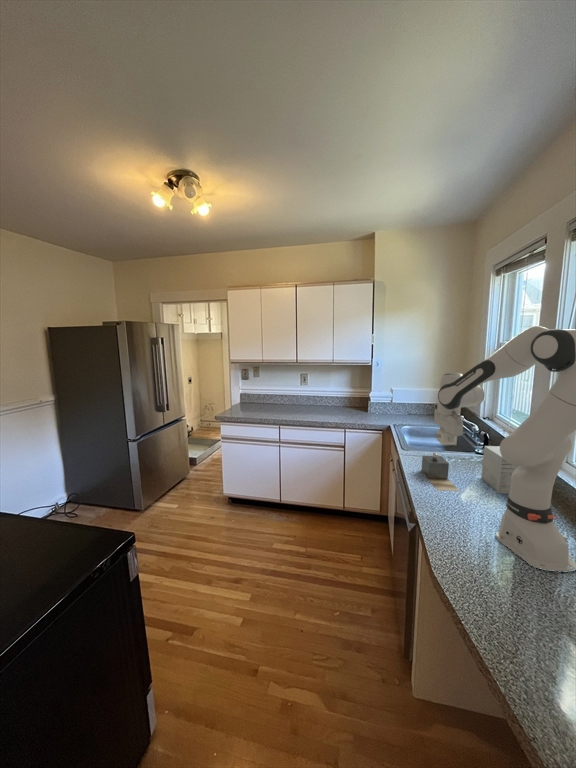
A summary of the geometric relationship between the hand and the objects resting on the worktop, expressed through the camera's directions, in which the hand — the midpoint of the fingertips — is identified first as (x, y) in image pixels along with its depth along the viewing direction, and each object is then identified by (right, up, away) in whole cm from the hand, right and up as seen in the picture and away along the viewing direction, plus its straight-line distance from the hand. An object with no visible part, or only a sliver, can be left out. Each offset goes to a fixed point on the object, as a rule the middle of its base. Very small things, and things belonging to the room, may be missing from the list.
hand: (446, 438), depth 139 cm
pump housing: (0, -2, 0) cm, 2 cm away
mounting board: (0, -22, +9) cm, 24 cm away
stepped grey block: (+1, -20, +14) cm, 24 cm away
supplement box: (+28, -23, +4) cm, 37 cm away
